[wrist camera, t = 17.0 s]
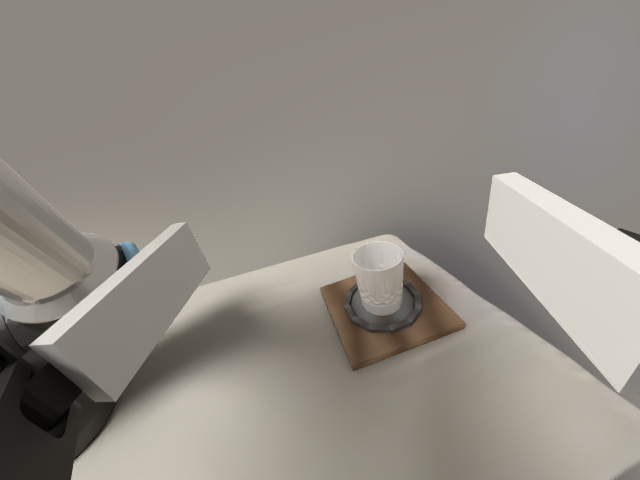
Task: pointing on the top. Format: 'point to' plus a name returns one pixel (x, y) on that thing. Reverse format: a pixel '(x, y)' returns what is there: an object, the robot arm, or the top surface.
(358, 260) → the white cup
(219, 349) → the top surface
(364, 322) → the coaster board
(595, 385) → the top surface
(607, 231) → the robot arm
